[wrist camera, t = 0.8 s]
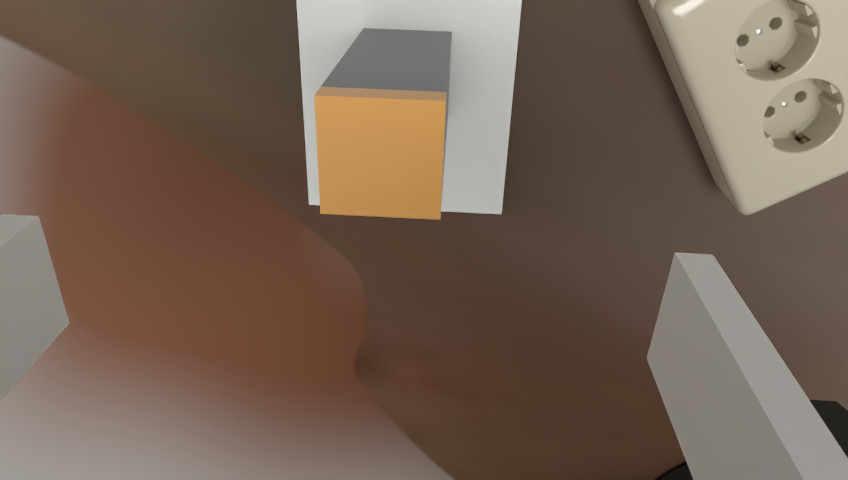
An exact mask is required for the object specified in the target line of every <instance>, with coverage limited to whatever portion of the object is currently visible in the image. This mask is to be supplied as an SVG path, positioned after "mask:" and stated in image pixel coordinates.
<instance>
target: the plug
mask: <svg viewBox="0 0 848 480" xmlns="http://www.w3.org/2000/svg"><path fill="white" fill-rule="evenodd" d="M451 40H452V32H448V31H423V30H398V29H373V28H363V30H362V31H361V32H360V34H359V35H358V36H357V38H356V39H355V41H354V42H353V43H352V45H351V46H350V47H349V49H348V50H347V51H346V53H345V54H344V56H343V57H342V58H341V60H340V61H339V62H338V64H337V65H336V66H335V68H334V69H333V70H332V72H331V73H330V75H329V76H328V77H327V79H326V80H325V81H324V83H323V84H322V85H321V87H320V88H319V90H318V91H317V92H316V94H315V95H314V101H315V120H316V139H317V158H318V177H319V196H320V214H337V215H357V216H377V217H397V218H417V219H437V220H440V218H441V204H442V191H443V177H444V163H445V150H446V136H447V122H448V104H449V83H450V61H451Z"/></svg>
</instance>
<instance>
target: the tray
mask: <svg viewBox="0 0 848 480" xmlns="http://www.w3.org/2000/svg"><path fill="white" fill-rule="evenodd" d="M296 1H297V18H298V34H299V50H300V66H301V82H302V99H303V115H304V131H305V147H306V164H307V180H308V196H309V205H320V196H319V177H318V158H317V139H316V120H315V101H314V95H315V94H316V92H317V91H318V90H319V88H320V87H321V85H322V84H323V83H324V81H325V80H326V79H327V77H328V76H329V75H330V73H331V72H332V70H333V69H334V68H335V66H336V65H337V64H338V62H339V61H340V60H341V58H342V57H343V56H344V54H345V53H346V51H347V50H348V49H349V47H350V46H351V45H352V43H353V42H354V41H355V39H356V38H357V36H358V35H359V34H360V32H361V31H362V30H363V28H373V29H398V30H423V31H448V32H452V40H451V61H450V83H449V104H448V122H447V136H446V150H445V163H444V177H443V191H442V204H441V211H445V212H465V213H485V214H502V205H503V194H504V184H505V173H506V163H507V152H508V141H509V131H510V120H511V110H512V99H513V89H514V78H515V68H516V57H517V46H518V36H519V25H520V15H521V4H522V0H296Z"/></svg>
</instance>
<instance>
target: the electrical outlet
mask: <svg viewBox="0 0 848 480" xmlns="http://www.w3.org/2000/svg"><path fill="white" fill-rule="evenodd" d="M638 2H639V5H640V7H641V9H642V12H643V14H644V16H645V19H646V21H647V23H648V26H649V28H650V31H651V33H652V35H653V38H654V40H655V42H656V45H657V47H658V49H659V52H660V54H661V57H662V59H663V61H664V64H665V66H666V68H667V71H668V73H669V75H670V78H671V80H672V83H673V85H674V87H675V90H676V92H677V94H678V97H679V99H680V101H681V104H682V106H683V108H684V111H685V113H686V116H687V118H688V120H689V123H690V125H691V127H692V130H693V132H694V134H695V137H696V139H697V142H698V144H699V146H700V149H701V151H702V153H703V156H704V158H705V160H706V163H707V165H708V168H709V170H710V172H711V175H712V177H713V179H714V182H715V184H716V185H717V186H718V187H719V189H720V190H721V191H722V192H723V193H724V194H725V196H726V197H727V198H728V199H729V200H730V201H731V203H732V204H733V205H734V206H735V207H736V208H737V209H738V211H739V212H740V213H741V214H744V215H751V214H754V213H756V212H758V211H761V210H763V209H765V208H767V207H770V206H772V205H774V204H776V203H779V202H781V201H783V200H786V199H788V198H790V197H792V196H795V195H797V194H799V193H802V192H804V191H806V190H808V189H811V188H813V187H815V186H817V185H820V184H822V183H824V182H827V181H829V180H831V179H833V178H836V177H838V176H840V175H843V174H845V173H847V172H848V0H638Z"/></svg>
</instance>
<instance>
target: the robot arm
mask: <svg viewBox="0 0 848 480" xmlns="http://www.w3.org/2000/svg"><path fill="white" fill-rule="evenodd" d="M68 324H69V320H68V317H67V313H66V310H65V306H64V303H63V299H62V296H61V292H60V289H59V285H58V282H57V278H56V275H55V271H54V268H53V264H52V261H51V257H50V254H49V250H48V247H47V243H46V240H45V236H44V233H43V230H42V226H41V223H40V219H39V216H26V215H9V214H2V215H1V216H0V402H1V401H2V400H3V398H4V397H5V396H6V395H7V394H8V393H9V392H10V390H11V389H12V388H13V387H14V386H15V385H16V384H17V382H18V381H19V380H20V379H21V378H22V377H23V376H24V374H25V373H26V372H27V371H28V370H29V369H30V368H31V366H32V365H33V364H34V363H35V362H36V361H37V360H38V358H39V357H40V356H41V355H42V354H43V353H44V352H45V350H46V349H47V348H48V347H49V346H50V345H51V344H52V343H53V341H54V340H55V339H56V338H57V337H58V336H59V334H60V333H61V332H62V331H63V330H64V329H65V328H66V326H67V325H68ZM647 360H648V363H649V366H650V368H651V371H652V373H653V376H654V379H655V381H656V384H657V386H658V389H659V392H660V394H661V397H662V400H663V402H664V405H665V407H666V410H667V413H668V415H669V418H670V420H671V423H672V426H673V428H674V431H675V433H676V436H677V439H678V441H679V444H680V446H681V449H682V452H683V454H684V457H685V459H686V462H687V464H686V465H684V466H681V467H679V468H677V469H675V470H674V471H672V472H670V473H668V474H667V475H665V476H664V477H662V478H661V479H659V480H848V411H847V410H846V409H845V408H844V407H842V406H841V405H840V404H839V403H837V402H835V401H819V400H809V399H808V397H807V396H806V394H805V393H804V391H803V390H802V388H801V387H800V385H799V384H798V382H797V381H796V379H795V378H794V376H793V375H792V373H791V372H790V370H789V369H788V367H787V366H786V364H785V363H784V361H783V360H782V358H781V357H780V355H779V354H778V352H777V351H776V349H775V348H774V346H773V345H772V343H771V342H770V340H769V339H768V337H767V336H766V334H765V333H764V331H763V330H762V328H761V326H760V325H759V323H758V322H757V320H756V319H755V317H754V316H753V314H752V313H751V311H750V310H749V308H748V307H747V305H746V304H745V302H744V301H743V299H742V298H741V296H740V295H739V293H738V292H737V290H736V289H735V287H734V286H733V284H732V283H731V281H730V280H729V278H728V277H727V275H726V274H725V272H724V271H723V269H722V268H721V266H720V265H719V263H718V262H717V260H716V259H715V257H714V256H713V255H711V254H693V253H676V252H675V253H674V257H673V261H672V265H671V269H670V272H669V276H668V280H667V284H666V287H665V291H664V295H663V299H662V303H661V306H660V310H659V314H658V318H657V321H656V325H655V329H654V333H653V337H652V340H651V344H650V348H649V352H648V356H647Z"/></svg>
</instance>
